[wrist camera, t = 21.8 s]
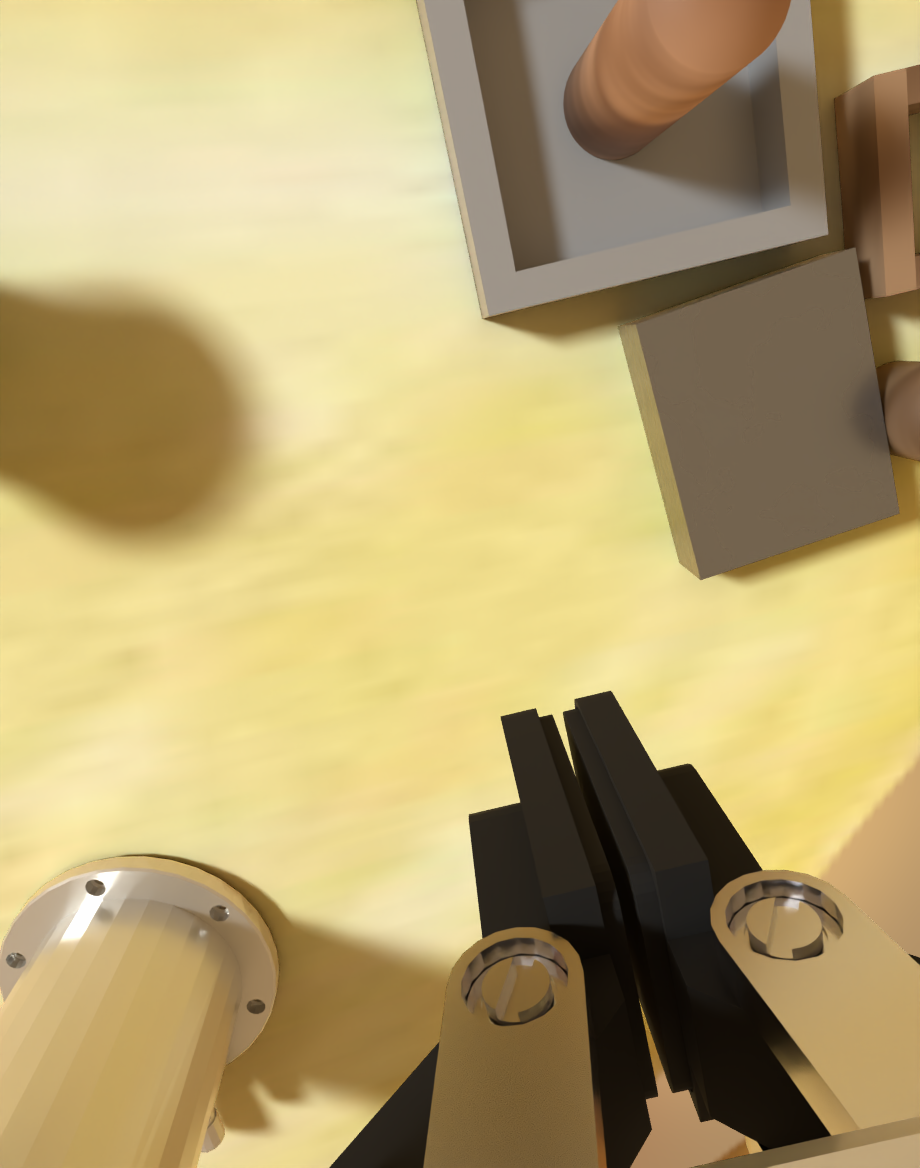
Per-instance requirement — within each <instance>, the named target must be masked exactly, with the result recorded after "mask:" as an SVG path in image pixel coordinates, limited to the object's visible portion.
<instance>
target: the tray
mask: <svg viewBox="0 0 920 1168" xmlns="http://www.w3.org/2000/svg"><path fill="white" fill-rule="evenodd" d="M617 1H618V0H416V3H417V7H418V12H419V17H420V22H421V27H422V31H423V36H424V41H425V46H426V51H427V55H428V60H429V65H430V70H431V75H432V79H433V84H434V89H435V94H436V99H437V103H438V108H439V113H440V118H441V123H442V127H443V132H444V137H445V142H446V147H447V151H448V156H449V161H450V166H451V171H452V175H453V180H454V185H455V190H456V195H457V199H458V204H459V209H460V214H461V219H462V223H463V228H464V233H465V238H466V243H467V247H468V252H469V257H470V262H471V267H472V271H473V276H474V281H475V286H476V291H477V295H478V300H479V305H480V310H481V315H482V319H484V318H488V317H492V316H496V315H501V314H505V313H509V312H513V311H517V310H521V309H525V308H530V307H534V306H538V305H542V304H546V303H550V302H555V301H559V300H563V299H567V298H571V297H575V296H579V295H584V294H588V293H592V292H596V291H600V290H604V289H609V288H613V287H617V286H621V285H625V284H629V283H633V282H638V281H642V280H646V279H650V278H654V277H658V276H663V275H667V274H671V273H675V272H679V271H683V270H688V269H692V268H696V267H700V266H704V265H708V264H712V263H717V262H721V261H725V260H729V259H733V258H737V257H742V256H746V255H750V254H754V253H758V252H762V251H766V250H771V249H775V248H779V247H783V246H787V245H791V244H795V243H799V242H803V241H806V240H810V239H814V238H817V237H821V236H825V235H828V224H827V211H826V198H825V185H824V172H823V159H822V146H821V133H820V121H819V108H818V95H817V82H816V69H815V56H814V43H813V30H812V17H811V5H810V0H791V3H790V7H789V10H788V13H787V16H786V19H785V21H784V23H783V26H782V28H781V30H780V31H779V33H778V35H777V36H776V38H775V39H774V40H773V42H772V43H771V44H770V46H769V47H768V48H767V49H766V50H765V51H764V52H763V53H762V54H761V55H760V56H758V57H757V58H756V59H755V60H753V61H752V62H751V63H750V64H748V65H747V66H746V67H745V68H743V69H742V70H741V71H739V72H738V73H737V74H736V75H734V76H733V77H732V78H731V79H729V80H728V81H727V82H726V83H724V84H723V85H722V86H721V87H719V88H718V89H717V90H716V91H714V92H713V93H712V94H711V95H709V96H708V97H707V98H705V99H704V100H703V101H702V102H700V103H699V104H698V105H697V106H695V107H694V108H693V109H692V110H690V111H689V112H688V113H687V114H685V115H684V116H683V117H682V118H680V119H679V120H678V121H677V122H675V123H674V124H673V125H671V126H670V127H669V128H668V129H666V130H665V131H664V132H663V133H661V134H660V135H659V136H658V137H656V138H655V139H654V140H653V141H651V142H650V143H649V144H648V145H646V146H645V147H644V148H643V149H641V150H640V151H639V152H637V153H635V154H634V155H632V156H629V157H627V158H623V159H618V160H606V159H601V158H598V157H595V156H593V155H591V154H589V153H588V152H586V151H585V150H584V149H583V148H582V147H580V146H579V145H578V143H577V142H576V141H575V140H574V138H573V136H572V135H571V133H570V131H569V129H568V126H567V123H566V120H565V115H564V107H563V100H564V91H565V87H566V83H567V80H568V78H569V75H570V73H571V71H572V69H573V68H574V66H575V65H576V63H577V62H578V60H579V59H580V57H581V56H582V54H583V53H584V51H585V49H586V48H587V46H588V45H589V43H590V42H591V40H592V39H593V37H594V36H595V34H596V33H597V31H598V30H599V28H600V27H601V25H602V24H603V22H604V21H605V19H606V18H607V16H608V15H609V13H610V12H611V10H612V9H613V7H614V6H615V4H616V3H617Z"/></svg>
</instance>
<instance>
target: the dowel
mask: <svg viewBox="0 0 920 1168" xmlns="http://www.w3.org/2000/svg"><path fill="white" fill-rule="evenodd" d="M790 3H791V0H618V1H617V3H616V4H615V6H614V7H613V9H612V10H611V12H610V13H609V15H608V16H607V18H606V19H605V21H604V22H603V24H602V25H601V27H600V28H599V30H598V31H597V33H596V34H595V36H594V37H593V39H592V40H591V42H590V43H589V45H588V46H587V48H586V49H585V51H584V53H583V54H582V56H581V57H580V59H579V60H578V62H577V63H576V65H575V66H574V68H573V69H572V71H571V73H570V75H569V78H568V80H567V83H566V87H565V91H564V100H563V107H564V115H565V120H566V123H567V126H568V129H569V131H570V133H571V135H572V136H573V138H574V140H575V141H576V142H577V143H578V145H579V146H580V147H582V148H583V149H584V150H585V151H586V152H588V153H589V154H591V155H593V156H595V157H598V158H601V159H606V160H618V159H623V158H627V157H629V156H632V155H634V154H635V153H637V152H639V151H640V150H641V149H643V148H644V147H645V146H646V145H648V144H649V143H650V142H651V141H653V140H654V139H655V138H656V137H658V136H659V135H660V134H661V133H663V132H664V131H665V130H666V129H668V128H669V127H670V126H671V125H673V124H674V123H675V122H677V121H678V120H679V119H680V118H682V117H683V116H684V115H685V114H687V113H688V112H689V111H690V110H692V109H693V108H694V107H695V106H697V105H698V104H699V103H700V102H702V101H703V100H704V99H705V98H707V97H708V96H709V95H711V94H712V93H713V92H714V91H716V90H717V89H718V88H719V87H721V86H722V85H723V84H724V83H726V82H727V81H728V80H729V79H731V78H732V77H733V76H734V75H736V74H737V73H738V72H739V71H741V70H742V69H743V68H745V67H746V66H747V65H748V64H750V63H751V62H752V61H753V60H755V59H756V58H757V57H758V56H760V55H761V54H762V53H763V52H764V51H765V50H766V49H767V48H768V47H769V46H770V44H771V43H772V42H773V40H774V39H775V38H776V36H777V35H778V33H779V31H780V30H781V28H782V26H783V23H784V21H785V19H786V16H787V13H788V10H789V7H790Z"/></svg>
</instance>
